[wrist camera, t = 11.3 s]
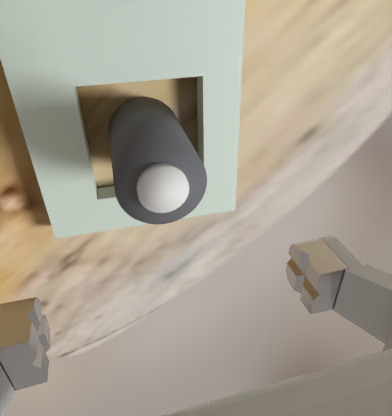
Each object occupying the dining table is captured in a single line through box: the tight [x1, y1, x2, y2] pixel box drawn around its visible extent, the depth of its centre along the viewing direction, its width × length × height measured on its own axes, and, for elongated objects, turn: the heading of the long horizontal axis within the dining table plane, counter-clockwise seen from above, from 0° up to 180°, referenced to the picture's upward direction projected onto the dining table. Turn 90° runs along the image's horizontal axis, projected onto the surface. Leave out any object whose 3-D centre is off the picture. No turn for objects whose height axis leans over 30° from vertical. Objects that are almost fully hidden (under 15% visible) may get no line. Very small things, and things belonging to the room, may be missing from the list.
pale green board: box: [0, 0, 245, 239], centre depth 20 cm, size 12×20×2 cm, turn 1°
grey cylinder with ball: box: [109, 97, 207, 224], centre depth 19 cm, size 4×4×8 cm
